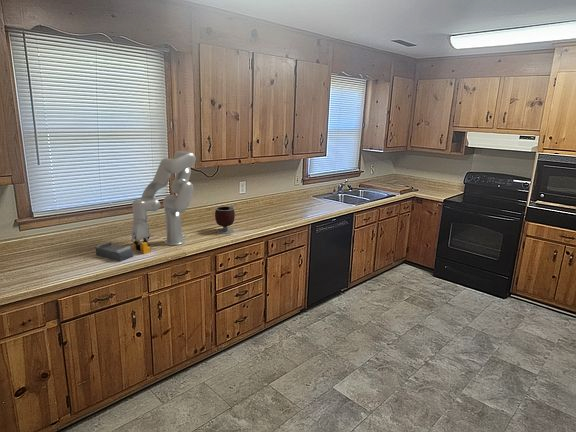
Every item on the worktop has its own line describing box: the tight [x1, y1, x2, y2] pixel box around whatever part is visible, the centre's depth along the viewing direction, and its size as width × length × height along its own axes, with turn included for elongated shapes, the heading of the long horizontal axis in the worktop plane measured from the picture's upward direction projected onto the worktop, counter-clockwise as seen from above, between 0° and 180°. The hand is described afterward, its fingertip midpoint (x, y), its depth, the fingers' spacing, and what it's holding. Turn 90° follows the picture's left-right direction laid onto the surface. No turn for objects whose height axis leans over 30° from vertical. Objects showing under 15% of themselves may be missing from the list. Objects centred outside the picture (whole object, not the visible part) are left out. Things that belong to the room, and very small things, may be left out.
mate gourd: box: [214, 203, 237, 235], centre depth 279 cm, size 16×14×20 cm
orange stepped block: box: [132, 240, 151, 255], centre depth 238 cm, size 12×4×6 cm, turn 49°
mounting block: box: [94, 241, 134, 263], centre depth 228 cm, size 9×20×6 cm, turn 64°
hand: (141, 248), depth 238 cm, fingers closed on orange stepped block, 5 cm apart
